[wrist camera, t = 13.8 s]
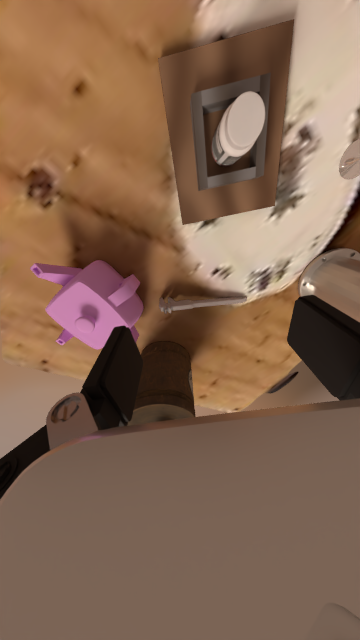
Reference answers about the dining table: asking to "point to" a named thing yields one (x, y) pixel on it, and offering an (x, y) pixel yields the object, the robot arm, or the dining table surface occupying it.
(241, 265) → the dining table surface
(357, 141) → the wineglass
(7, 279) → the dining table surface
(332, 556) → the robot arm
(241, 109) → the pill bottle
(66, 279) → the teakettle
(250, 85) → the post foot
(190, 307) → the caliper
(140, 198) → the dining table surface
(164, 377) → the wooden container
